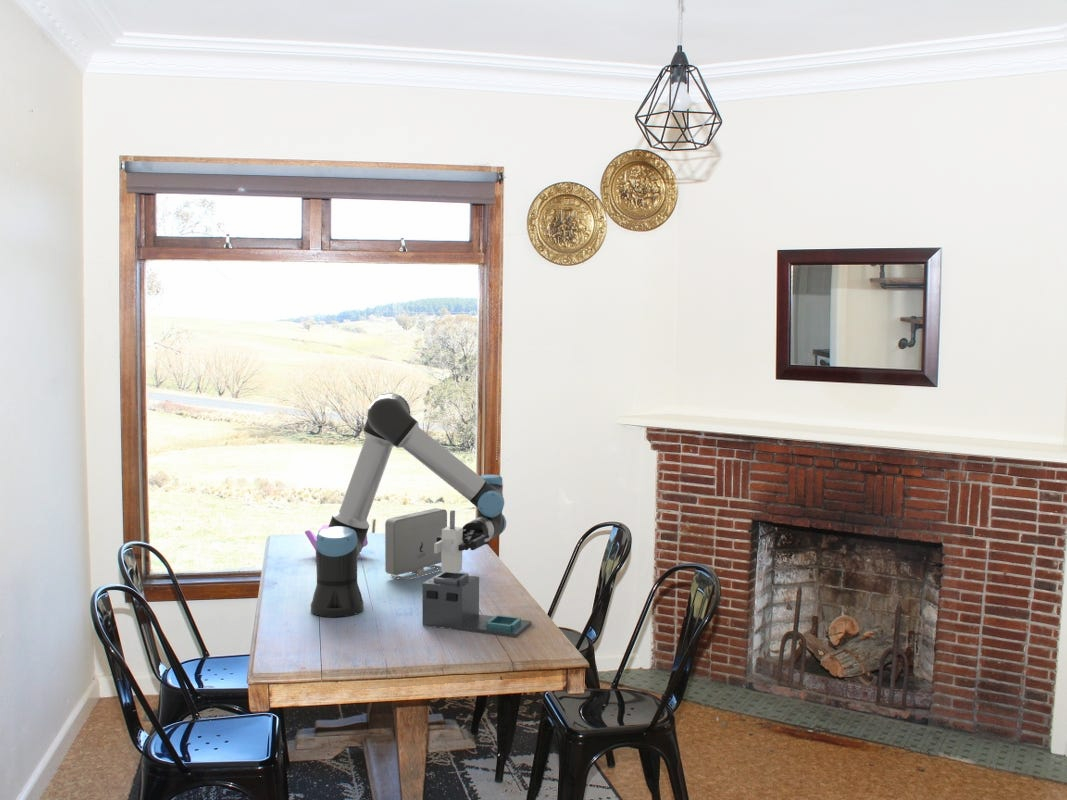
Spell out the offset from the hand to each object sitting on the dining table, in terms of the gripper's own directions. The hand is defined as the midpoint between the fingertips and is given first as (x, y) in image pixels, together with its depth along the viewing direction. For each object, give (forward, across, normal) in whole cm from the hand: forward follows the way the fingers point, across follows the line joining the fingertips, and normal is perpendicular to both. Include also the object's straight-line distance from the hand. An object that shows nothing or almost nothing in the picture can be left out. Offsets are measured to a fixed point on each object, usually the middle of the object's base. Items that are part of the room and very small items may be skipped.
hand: (443, 549), depth 274 cm
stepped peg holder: (-5, -8, -22) cm, 24 cm away
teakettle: (-58, +69, -23) cm, 92 cm away
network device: (-49, +32, -22) cm, 63 cm away
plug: (-5, 0, -7) cm, 9 cm away
